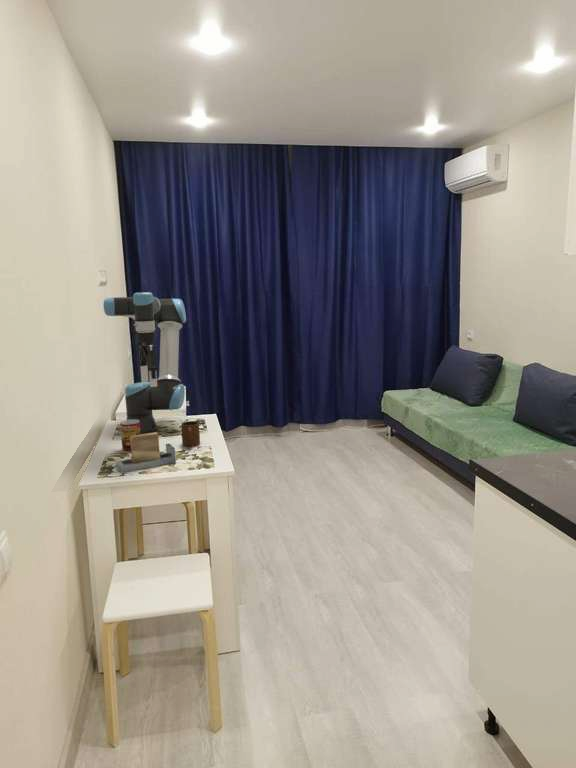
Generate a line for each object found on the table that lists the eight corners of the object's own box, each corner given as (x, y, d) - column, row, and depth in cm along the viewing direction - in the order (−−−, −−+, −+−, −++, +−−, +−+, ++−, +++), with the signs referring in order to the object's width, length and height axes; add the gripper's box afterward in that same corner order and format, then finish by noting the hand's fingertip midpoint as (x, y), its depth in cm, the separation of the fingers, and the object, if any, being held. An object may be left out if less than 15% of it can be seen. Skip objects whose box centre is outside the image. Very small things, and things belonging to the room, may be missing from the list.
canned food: (119, 452, 236) (117, 424, 234) (125, 446, 244) (123, 419, 242) (138, 452, 236) (136, 424, 234) (143, 446, 244) (141, 419, 241)
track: (116, 467, 217) (115, 452, 216) (170, 457, 227) (169, 443, 226) (120, 472, 211) (119, 457, 210) (175, 462, 221) (174, 448, 220)
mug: (199, 449, 237) (198, 427, 236) (181, 450, 236) (179, 428, 235) (200, 441, 249) (199, 420, 247) (182, 442, 248) (181, 421, 246)
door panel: (132, 466, 218) (130, 436, 216) (158, 461, 223) (156, 432, 221) (134, 468, 216) (132, 438, 213) (160, 463, 220) (158, 434, 218)
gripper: (128, 330, 235) (132, 380, 239) (143, 334, 213) (147, 390, 217) (146, 328, 238) (150, 378, 242) (163, 333, 217) (167, 387, 221)
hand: (149, 384), depth 230 cm, fingers open, 13 cm apart
